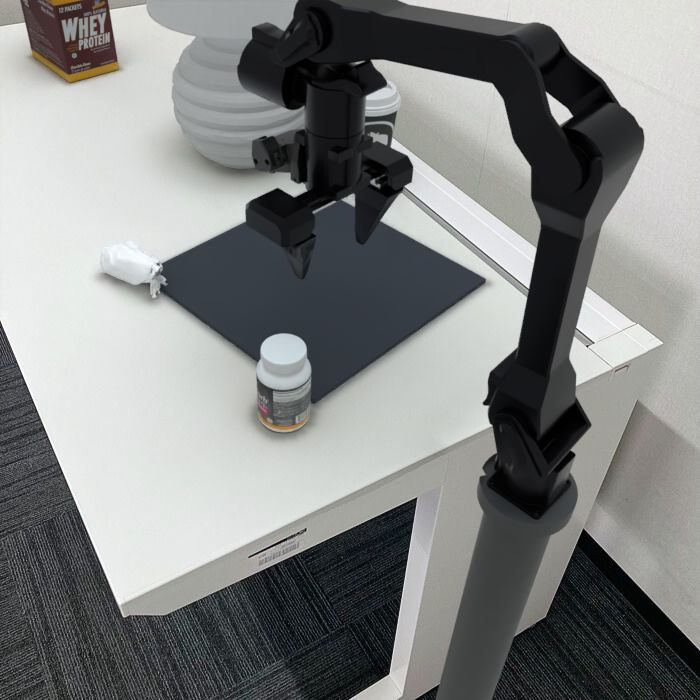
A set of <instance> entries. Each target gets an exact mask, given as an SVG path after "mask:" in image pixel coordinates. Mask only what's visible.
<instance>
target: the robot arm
mask: <svg viewBox="0 0 700 700" xmlns="http://www.w3.org/2000/svg"><path fill="white" fill-rule="evenodd" d="M373 61H388V62H391V63H396V64H401V65H405V66H410V67H413V68H420V69H425V70H429V71H433V72H438V73H443V74H446V75H450V76H456V77H460V78H466V79H470V80H474V81H479V82H484V83H488V84H492V86H493V87H494V89H496V90H497V92H498V94H499V95H500V97H501V99H502V101H503V104H504V108H505V112H506V117H507V120H508V125H509V128H510V132H511V138H512V140H513V142H514V144H515V146H516V147H517V148H518V150H519V152H520V153H521V154H522V155H523V157H524V159H525V161H526V162H527V163H528V165H529V166H530V199H531V202H532V204H533V207H534V209H535V211H536V214H537V217H538V219H539V222H540V228H539V229H540V230H539V234H538V239H537V245H536V250H535V255H534V261H533V264H532V265H533V266H532V270H531V276H530V280H529V285H528V286H529V287H528V292H527V297H526V302H525V307H524V312H523V318H522V321H521V328H520V332H519V338H518V343H517V347H515V348H514V350H513V351H511V352H510V353H509V354H508V355H507V356H506V357H504V359H503V360H501V361H500V362H499V363H498V364H497V365H496V366H495V367H494V368H493V369H491V370H490V371H489V373H488V378H487V394H486V397H485V399H484V400H483V401H482V403H481V404H482V405H483V406H484V407H485V406H486V407H487V419H488V423H489V425H491V426H492V432H493V438H494V444H495V449H496V453H497V456H496V460H495V464H494V470H496V472H495V473H494V474H493V475H492V476H491V477H490V478H489V479H488V480H487V486H488V487H489V488H490V489H492V490H493V491H495V492H496V493H498V494H499V495H500V496H502V497H503V498H505V499H506V500H508V501H509V502H510V503H512V504H513V505H515V506H516V507H517V508H519V509H520V510H522V511H523V512H525V513H526V514H527V515H529V516H530V517H532V518H533V519H535V520H539V519H541V518H542V516H543V515H544V514H545V513H546V512H547V511H548V510H549V509H550V508H551V507H552V506H553V505H554V504H555V503H556V502H557V501H558V500H559V499H560V497H561V496H562V495H563V494H564V493H565V492H566V491H567V490H568V489H569V488H570V486H571V481H570V480H569V479H567V478H568V476H569V473H571V470H572V467H573V464H574V461H575V459H576V456H577V454H576V452H574V451H572V449H573V448H574V447H575V446H576V445H577V444H578V442H579V441H580V440H581V439H582V438H583V437H584V435H585V434H587V432H588V431H590V429H591V428H592V425H593V424H592V422H591V421H590V418H589V417H588V415H587V413H586V412H585V409H584V408H583V406H582V404H581V402H580V401H579V399H578V398H577V395H576V394H577V393H576V392H577V371H576V370H575V368H574V366H573V363H572V361H571V359H570V355H571V350H572V346H573V342H574V337H575V334H576V331H577V326H578V322H579V318H580V314H581V312H582V311H581V310H582V308H583V307H582V306H583V302H584V298H585V294H586V290H587V287H588V283H589V279H590V275H591V270H592V267H593V262H594V259H595V255H596V251H597V247H598V244H599V243H598V242H599V239H600V234H601V231H602V227H603V225H604V223H605V221H606V220H607V218H608V216H609V214H610V212H611V211H612V210H613V208H614V207H615V205H616V203H617V202H618V200H619V198H620V197H621V195H622V194H623V193H624V191H625V189H626V187H627V186H628V184H629V182H630V180H631V178H632V176H633V173H634V172H635V169H636V167H637V165H638V163H639V161H640V159H641V157H642V154H643V151H644V148H645V139H646V138H645V131H644V128H643V127H642V126H640V124H639V123H638V121H637V119H636V117H635V115H633V114H632V113H631V112H630V111H629V110H628V109H627V108H625V107H624V106H622V105H621V103H620V102H619V101H618V99H617V97H616V96H615V94H614V93H613V91H612V89H610V87H609V85H608V84H607V82H606V81H605V80H604V79H603V77H602V76H600V75H599V74H598V73H596V72H595V71H594V70H593V69H591V68H590V67H589V66H587V65H586V64H585V63H583V61H581V60H580V59H579V58H578V57H576V56H575V55H574V54H572V52H571V51H570V50H569V48H568V47H567V45H566V44H565V43H564V41H563V39H562V38H561V37H560V34H558V32H557V31H556V30H555V29H554V28H553V27H551V26H550V25H547V24H545V23H541V22H539V21H538V22H535V21H532V22H526V23H522V22H517V21H512V20H511V21H510V20H504V19H498V18H492V17H486V16H481V15H473V14H468V13H462V12H456V11H449V10H444V9H438V8H432V7H426V6H419V5H413V4H408V3H406V2H403V1H401V0H298V1H297V3H296V5H295V9H294V12H293V19H292V21H291V22H290V24H289V25H288V27H287V28H286V30H285V31H284V30H281V29H280V28H278V27H277V26H276V25H274V24H271V23H268V22H265V23H263V24H260V25H257V26H254V27H252V39H251V40H250V41H249V43H248V44H247V45H246V47H245V48H244V50H243V52H242V55H241V58H240V62H239V64H238V66H237V74H238V79H239V82H240V84H241V86H242V87H243V88H244V89H245V90H247V91H248V92H250V93H253V94H255V95H257V96H259V97H262V98H264V99H266V100H268V101H270V102H273V103H275V104H277V105H279V106H282V107H284V108H286V109H289V110H298V109H300V108H302V107H303V106H304V114H305V128H304V129H295V130H290V131H287V132H284V133H282V134H280V135H277V136H275V137H274V136H270V137H267V136H262V137H260V138H257V139H255V140H252V158H253V162H254V166H255V167H256V168H255V169H256V170H257V171H259V172H269V173H270V174H276V173H288V174H289V175H290V176H289V177H290V179H289V180H290V181H291V182H293V183H295V184H297V185H300V184H304V187H305V190H306V191H304V192H302V193H300V194H297V195H296V196H294V195H291V194H290V193H288V192H286V191H284V190H283V189H281V188H279V187H276V188H274V189H272V190H270V191H267V192H266V193H265V192H264V193H263V194H261V195H259V196H257V197H254V198H252V199H251V200H249V201H248V202H247V203H246V204H245V207H244V208H245V209H244V210H245V211H244V213H245V222H246V225H247V226H248V227H250V228H251V229H253V230H255V231H256V232H258V233H259V234H261V235H263V236H264V237H266V238H267V239H269V240H271V241H272V242H274V243H275V244H277V245H279V246H280V247H282V248H283V250H284V252H285V254H286V256H287V258H288V260H289V263H290V265H291V267H292V269H293V271H294V273H295V275H296V276H297V277H298V278H300V279H304V278H305V276H306V274H307V271H308V268H309V264H310V260H311V257H312V253H313V249H314V245H315V241H316V238H317V236H316V235H315V234H313V233H312V232H313V230H314V228H315V216H314V213H316V212H318V211H320V210H322V209H324V208H326V207H328V206H330V205H332V204H334V203H336V202H338V201H340V200H344V199H345V198H347V197H349V196H351V195H353V194H354V207H355V236H356V241H357V242H358V243H359V244H361V245H364V244H365V243H366V242H367V240H368V239H369V237H370V236H371V234H372V233H373V231H374V229H375V228H376V226H377V225H378V223H379V222H380V221H381V220H382V219H383V218H384V216H385V214H387V211H388V210H389V209H390V208H391V207H392V205H393V204H394V202H395V201H396V200H397V198H398V197H399V196H400V195H401V194H402V193H403V192H404V190H405V188H404V187H405V186H408V185H409V184H411V183H413V175H414V165H413V162H412V160H411V159H410V156H409V155H407V154H406V153H403V152H401V151H399V150H397V149H395V148H393V147H392V146H391V147H389V146H387V145H385V144H383V143H380V142H378V141H375V142H373V137H371V136H369V135H367V134H365V133H364V131H365V110H366V96H368V95H370V94H372V93H374V92H376V91H378V90H380V89H383V88H385V87H386V86H387V81H386V80H387V79H386V78H385V77H384V74H382V73H381V72H380V71H379V70H378V69H377V68H376V67H375V65H374V64H373ZM548 95H549V96H551V97H552V98H553V99H554V100H556V101H557V102H558V103H560V104H561V105H562V106H564V107H565V108H566V109H567V110H568V112H569V113H570V115H571V116H572V117H570V118H568V119H567V120H565V121H564V122H562V123H560V124H559V123H558V121H557V120H556V118H555V116H554V115H553V114H552V111H551V106H550V103H549V98H548ZM490 482H492V483H493V484H491V483H490ZM566 483H567V484H566ZM535 514H538V515H535Z"/></svg>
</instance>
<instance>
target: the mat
mask: <svg viewBox="0 0 700 700" xmlns="http://www.w3.org/2000/svg"><path fill="white" fill-rule="evenodd" d="M314 216H315V228H314V230H313V232H312V233H313V234H315V235H316V236H317V238H316V241H315V245H314V249H313V253H312V257H311V260H310V264H309V268H308V271H307V274H306V276H305V278H304V279H300V278H298V277H297V276H296V275H295V273H294V271H293V269H292V267H291V265H290V263H289V260H288V258H287V256H286V254H285V252H284V250H283V248H282V247H280V246H279V245H277V244H275V243H274V242H272V241H271V240H269V239H267V238H266V237H264V236H263V235H261V234H259V233H258V232H256V231H255V230H253V229H251V228H250V227H248V226H247V225H246V221H244V222H241V223H239V224H238V225H236V226H234V227H232V228H230V229H228V230H226V231H224V232H222V233H219V234H218V235H215V236H213V237H212V238H210V239H208V240H206V241H204V242H201V243H200V244H198V245H195V246H193V247H192V248H189V249H188V250H186V251H183V252H182V253H180V254H177V255H175V256H174V257H171V258H169V259H167V260H165V261H164V262H161V265H162V266H163V270H162V272H161V273H160V275H161V276H163V277H164V278H165V279H166V281H165V283H166V284H167V285H164V284H162V283H160V289H159V291H160V292H162V293H164V295H166V296H168V297H169V298H170V299H172V300H173V301H174V302H176V303H177V304H178V305H180V306H182V307H183V309H185V310H187V311H188V312H189V313H191V314H192V315H193V316H195V317H196V318H197V319H199V320H200V321H202V322H203V323H205V324H206V326H208V327H210V328H211V329H212V330H214V331H215V332H216V333H218V334H219V335H221V336H222V337H223V338H224V339H226V340H227V341H228V342H230V343H231V344H232V345H234V346H235V347H237V348H238V349H240V350H241V351H242V352H244V353H245V354H246V355H247V356H249V357H250V358H251V359H253V360H254V361H256V362H257V363H258V362H259V361H260V359H261V345H262V343H263V342H264V341H265V340H266V339H267V338H269V337H271V336H273V335H276V334H283V333H284V334H292V335H295V336H297V337H299V338H301V339H302V340H303V341H304V343H305V344H306V347H307V359H308V360H309V362H310V365H311V403H313V404H316V403H317V402H319V401H321V400H322V399H323V398H325V397H326V396H327V395H329V394H330V393H332V392H333V391H334V390H335V389H337V388H339V387H340V386H341V385H342V384H344V383H346V382H347V381H348V380H349V379H352V378H353V377H354V376H355V375H357V374H358V373H359V372H361V371H362V370H364V369H366V368H367V367H368V366H370V365H371V364H373V363H374V362H375V361H376V360H378V359H379V358H380V357H382V356H384V355H385V354H386V353H388V352H389V351H391V350H392V349H393V348H395V347H397V345H399V344H401V343H402V342H404V341H405V340H406V339H408V338H409V337H410V336H412V335H413V334H415V333H416V332H417V331H419V330H420V329H422V328H423V327H424V326H426V325H428V324H430V322H431V321H433V320H434V319H436V318H437V317H439V316H440V315H441V314H443V313H445V312H446V311H447V310H448V309H450V308H452V307H453V306H454V305H456V304H457V303H459V302H460V301H461V300H462V299H464V298H465V297H467V296H468V295H470V294H471V293H473V292H474V291H475V290H477V289H478V288H479V287H481V286H482V285H484V284H485V283H487V282H486V281H487V278H485V277H483V276H482V275H480V274H478V273H477V272H474V271H473V270H471V269H469V268H467V267H465V266H464V265H462V264H460V263H458V262H457V261H454V260H452V259H450V258H449V257H447V256H445V255H443V254H441V253H439V252H437V251H436V250H434V249H432V248H430V247H428V246H427V245H425V244H424V243H422V242H419V241H418V240H416V239H414V238H412V237H411V236H409V235H407V234H405V233H403V232H401V231H399V230H398V229H396V228H394V227H392V226H390V225H388V224H386V223H384V222H383V221H381V220H380V222H379V223H378V225H377V226H376V228H375V229H374V231H373V233H372V234H371V236H370V237H369V239H368V240H367V242H366V243H365V244H364V245H361V244H359V243H358V242H357V241H356V236H355V205H354V206H353V204H352V205H351V204H350V203H348V202H347V201H344V199H342V200H340V201H338V202H336V203H334V204H332V205H330V206H328V207H326V208H324V209H322V210H320V211H318V212H316V213H314Z"/></svg>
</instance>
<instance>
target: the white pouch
mask: <svg viewBox="0 0 700 700" xmlns="http://www.w3.org/2000/svg"><path fill="white" fill-rule="evenodd" d="M161 263H162V262H161V260H160V259H159V258H158V257H156V256H153V255H152V254H150V253H148V252H146V251H145V250H144V249H142V248H141V247H139V246H138V245H137V244H136V243H135V242H133V241H131V240H124V242H122V243H115V244H110V245H106V246H105V247H103V248H101V251H100V256H99V264H100V266H101V269H102V270H100V272H99V273H100V274H108V275H109V276H112V277H114V278H116V279H118V280H120V281H123V282H126V283H128V284H131V285H132V286H138V285H140V284H150V285H149V287H150V288H149V289H150V291H149V292H150V296H151V298H152V299H156V298H157V295H156V293H158V294H159V295H160V294H161V290H160V283H162V284H164V285H167V284H166V283H165V281H166V279H165V278H164V277H163V276H161V275H160V273H161V272H162V270H163V266H162V265H161Z"/></svg>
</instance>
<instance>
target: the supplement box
mask: <svg viewBox="0 0 700 700" xmlns="http://www.w3.org/2000/svg"><path fill="white" fill-rule="evenodd" d="M19 1H20V6H21V10H22V15H23V19H24V24H25V29H26V32H27V37H28V41H29V46H30V50H31V54H32V57H33V58H35V59H36V60H38V61H39V62H40V63H42V64H43V65H44V66H46V67H47V68H48V69H50V70H51V71H52V72H54V73H55V74H57V75H58V76H59V77H60V78H63V80H65V81H66V82H68V83H74V82H77V81H82V80H85V79H89V78H93V77H96V76H100V75H103V74H107V73H110V72H114V71H118V70H120V67H119V60H118V59H119V58H118V53H117V47H116V41H115V35H114V30H113V24H112V23H113V22H112V17H111V9H110V4H109V0H19Z"/></svg>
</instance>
